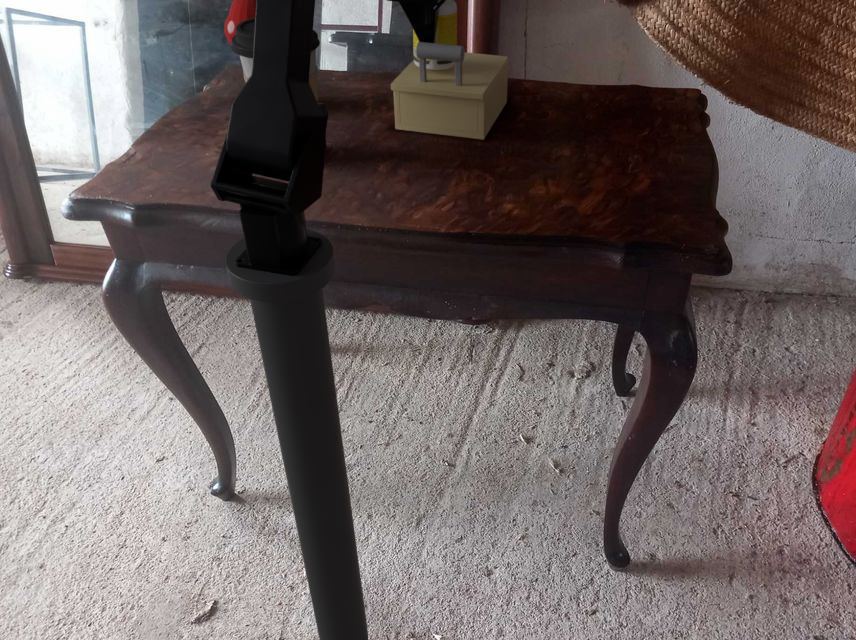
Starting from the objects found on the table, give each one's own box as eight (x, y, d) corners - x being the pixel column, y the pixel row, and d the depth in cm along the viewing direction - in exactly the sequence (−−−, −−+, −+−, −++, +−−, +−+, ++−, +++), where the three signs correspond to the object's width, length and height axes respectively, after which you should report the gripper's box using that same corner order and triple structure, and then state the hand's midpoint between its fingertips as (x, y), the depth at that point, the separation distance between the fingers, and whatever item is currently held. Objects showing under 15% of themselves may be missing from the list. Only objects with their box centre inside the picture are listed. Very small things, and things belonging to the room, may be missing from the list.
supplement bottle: (458, 58, 102) (460, -24, 96) (453, 72, 97) (455, -13, 91) (416, 56, 102) (415, -27, 96) (410, 69, 98) (409, -16, 92)
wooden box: (483, 139, 98) (484, 98, 95) (395, 129, 100) (392, 88, 97) (506, 102, 107) (508, 62, 104) (425, 93, 110) (424, 54, 106)
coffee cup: (340, 166, 92) (327, 33, 83) (259, 179, 89) (235, 44, 80) (321, 134, 99) (306, 8, 89) (245, 146, 96) (221, 17, 87)
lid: (482, 100, 94) (483, 54, 91) (390, 90, 96) (388, 45, 93) (508, 62, 104) (509, 19, 101) (424, 54, 106) (423, 12, 103)
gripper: (482, -78, 80) (479, 77, 90) (521, -108, 94) (515, 28, 104) (378, -84, 82) (386, 67, 92) (431, -113, 96) (434, 20, 106)
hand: (435, 44), depth 98 cm, fingers closed on supplement bottle, 5 cm apart
